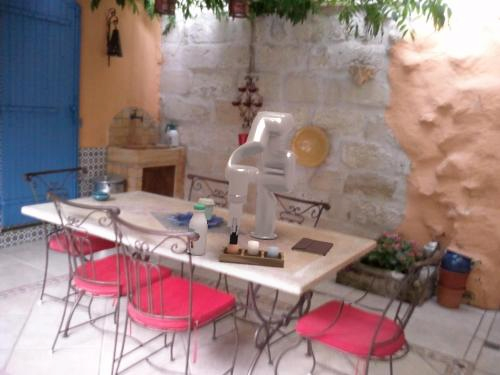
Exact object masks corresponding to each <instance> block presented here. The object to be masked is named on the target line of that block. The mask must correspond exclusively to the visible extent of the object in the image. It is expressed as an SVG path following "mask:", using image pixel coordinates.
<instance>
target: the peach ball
mask: <svg viewBox="0 0 500 375" xmlns="http://www.w3.org/2000/svg"><path fill="white" fill-rule="evenodd" d="M227 247H228V250H227V254H233V255H238V250H239V248H240V244H239V242H238V243H237V245H234V244H229V242H227Z"/></svg>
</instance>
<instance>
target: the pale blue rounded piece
mask: <svg viewBox="0 0 500 375" xmlns="http://www.w3.org/2000/svg"><path fill="white" fill-rule="evenodd" d="M279 250H280V248H279V247H278V246H274V245H273V246H272V245H271V246H268V247H267V251H268V252H267V258H274V259H278V253H279V252H280V251H279Z"/></svg>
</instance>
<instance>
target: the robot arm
mask: <svg viewBox="0 0 500 375" xmlns="http://www.w3.org/2000/svg"><path fill="white" fill-rule="evenodd" d="M294 125H295V118H294V116H293V114H291V113H288V112H278V111H267V110H265V111H258V112H257V114H256V115H255V117H254V119H253V121H252V124H251V128H250V129H249V133H248V136H247V138H246V142H245V143H243V144H241V145H240V146H239V147H238V148H236V149H235V150H234V151H233V152H232V153H231V154H230V156H229V158H228V160H227V164H226V167H225V170H224V177H225V179H226V180H227V181H228V189H227V190H228V192H227V203H229V207H228V215H227V224H226V227H227V228H228V229H229V228H230V234H229V242H228V243H229V244H234V245H237V243H238V244H239V229H240V228H241V224H242V219H243V214H244V213H243V212H244V210H243V209H244V205H246V204H247V202H248V201H247V200H248V192H249V191H248V190H249V188H248V187H249V186H254V185H256V187H257V188H256V191H257V192H256V193H257V194H256V197H257V198H256V207H255V215H254V216H255V218H254V229H253V230H252V231H250V236H251V237H253V238H255V239H261V240H274V239H277V237H278V235H277V233H275V224H276V223H275V222H276V215H277V214H276V213H277V203H278V202H277V197H276V195H275V194H274V193H279V194H284V195H285V194H290V193H292V191H293V189H294V185H295V174H296V165H297V164H296V162H297V160H296V154H295V152H294V151H292V150H291V149H290V150H289V149H282V147H281V146H282V137H284V136H286V135H288V134H289V133H291V131H292V130H293V128H294ZM258 154H259V155H260V154H261V165H262V166H263V168H267V169H271V170H262V171H260V169H259V168H257V167H255V166H250V165H246V164H245V165H243V164H239V163H240V162H241V161H243V160H244V159H246V158H249V157H252V156H257V155H258ZM272 170H278V171H272ZM279 170H280V171H283V172H279Z"/></svg>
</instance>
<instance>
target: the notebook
mask: <svg viewBox="0 0 500 375" xmlns="http://www.w3.org/2000/svg"><path fill="white" fill-rule="evenodd" d="M331 247H332V248H333V247H334V243H332V242H327V241H323V240H318V239H312V238H309V237H302V238H301V239H299V241H297V242H296V243H295V244H294V245H293V246H292V247H291V249H290V250H291V251H296V252H301V253H305V252H306V253H307V254H312V255H316V254H317V255H318V256H321V255H322V256H323V257H325V256H326V255H328V253H329V251H330V250H331V249H332V248H331ZM327 252H328V253H327ZM317 255H316V256H317ZM322 256H321V257H322Z"/></svg>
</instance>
